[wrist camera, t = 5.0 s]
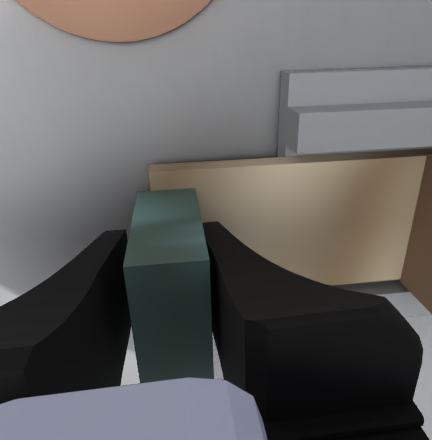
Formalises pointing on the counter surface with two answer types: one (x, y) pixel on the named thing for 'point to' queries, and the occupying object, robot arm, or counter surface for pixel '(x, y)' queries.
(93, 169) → the counter surface
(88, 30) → the coaster
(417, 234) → the walnut block
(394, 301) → the lane board
